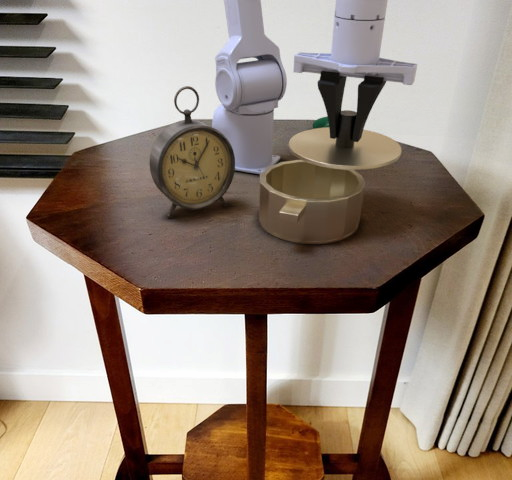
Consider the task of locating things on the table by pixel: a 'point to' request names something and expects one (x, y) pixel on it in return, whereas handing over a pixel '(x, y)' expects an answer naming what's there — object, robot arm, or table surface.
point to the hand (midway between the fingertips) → (345, 137)
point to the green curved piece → (321, 123)
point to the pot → (310, 202)
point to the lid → (345, 147)
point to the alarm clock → (192, 162)
